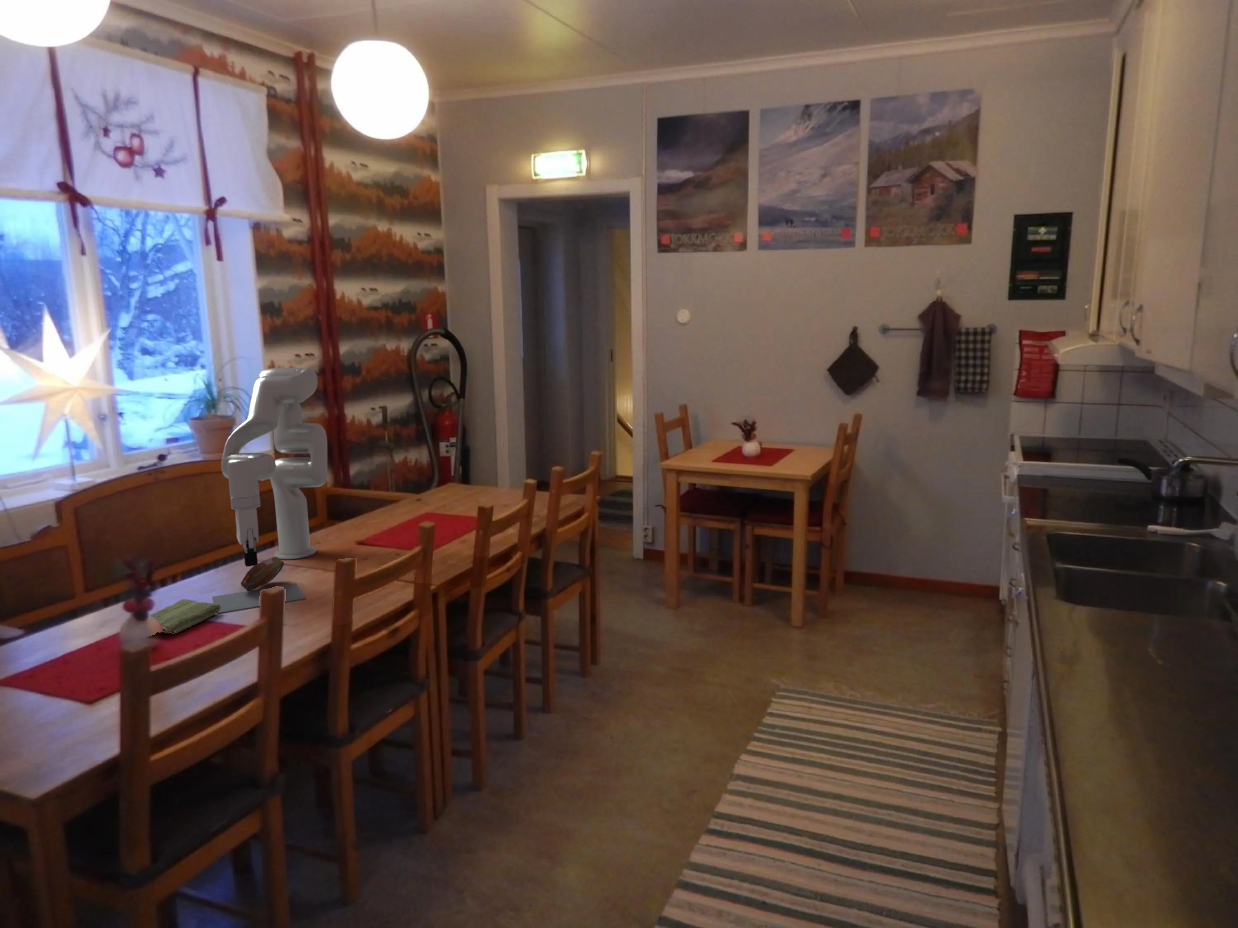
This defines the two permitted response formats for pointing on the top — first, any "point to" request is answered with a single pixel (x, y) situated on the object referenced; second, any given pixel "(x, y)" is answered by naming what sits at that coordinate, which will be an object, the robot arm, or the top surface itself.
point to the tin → (262, 573)
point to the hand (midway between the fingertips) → (251, 565)
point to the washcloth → (184, 614)
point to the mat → (252, 598)
